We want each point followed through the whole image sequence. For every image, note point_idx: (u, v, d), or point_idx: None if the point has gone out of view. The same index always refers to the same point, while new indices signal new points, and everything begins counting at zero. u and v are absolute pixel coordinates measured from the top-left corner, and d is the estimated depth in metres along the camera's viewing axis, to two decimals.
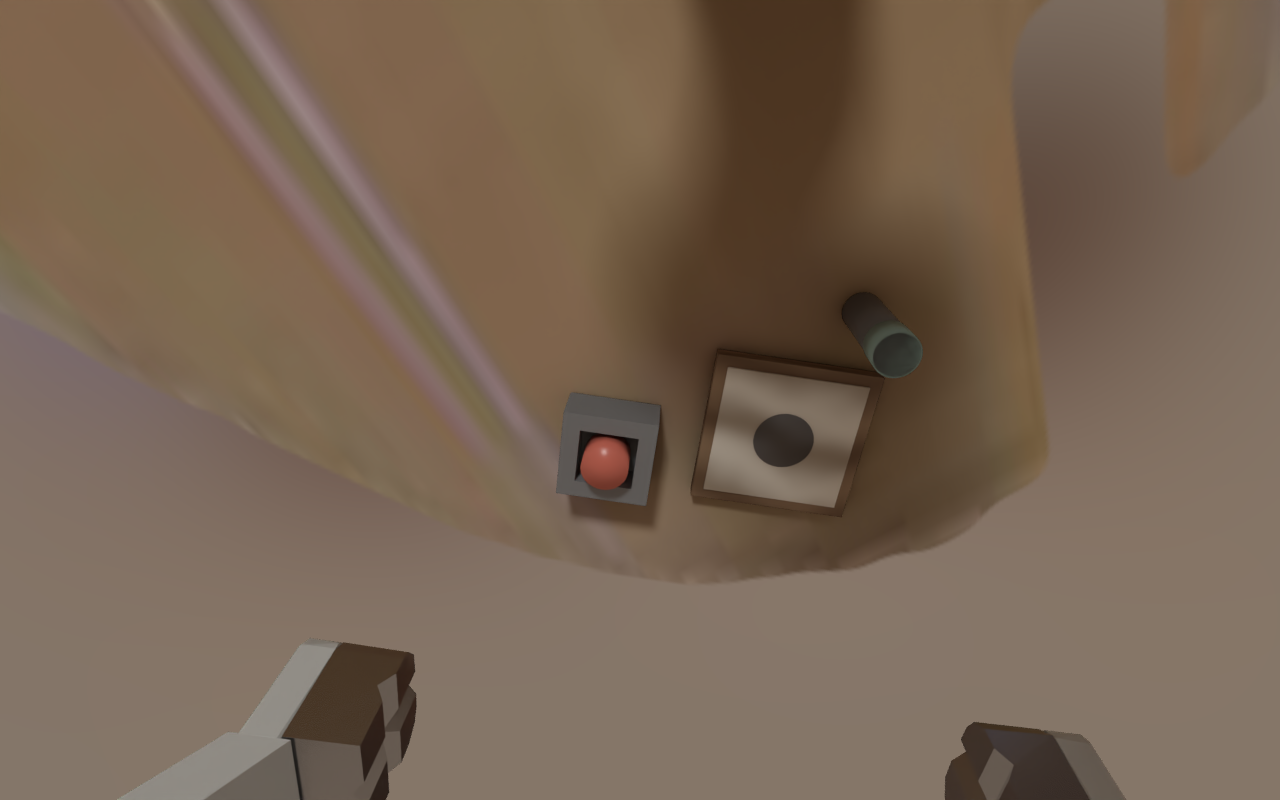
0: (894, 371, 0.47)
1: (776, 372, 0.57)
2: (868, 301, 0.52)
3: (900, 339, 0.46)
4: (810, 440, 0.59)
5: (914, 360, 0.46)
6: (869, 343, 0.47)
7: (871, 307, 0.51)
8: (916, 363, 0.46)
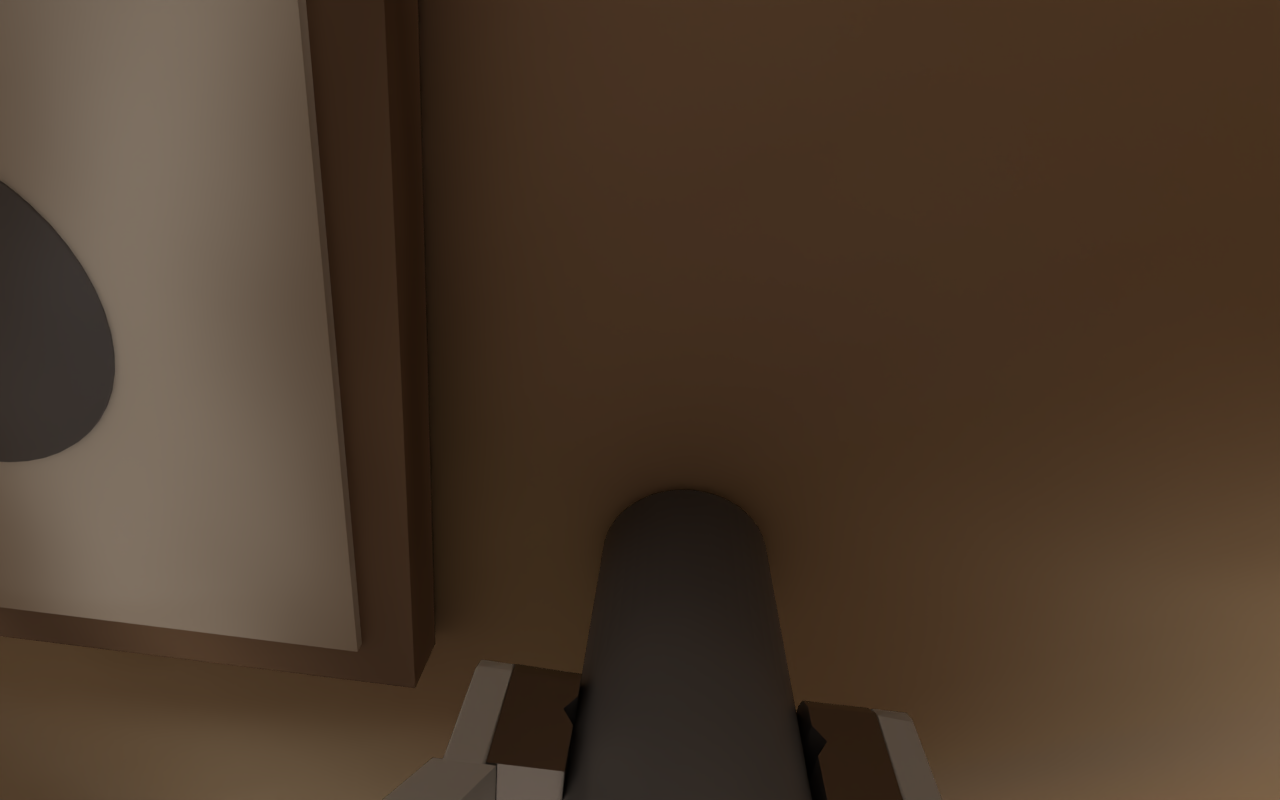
0: None
1: (333, 231, 0.10)
2: (783, 644, 0.11)
3: None
4: (10, 446, 0.11)
5: None
6: None
7: None
8: None
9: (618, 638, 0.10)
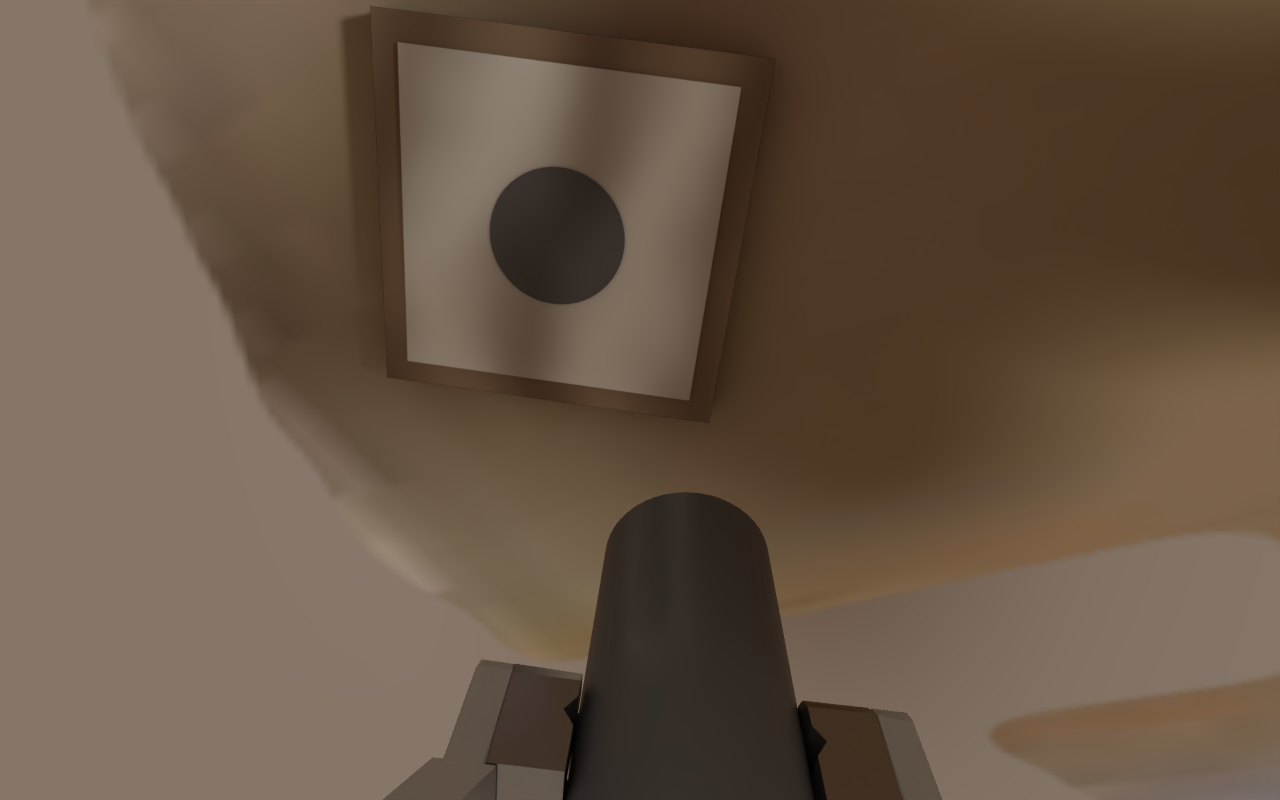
0: None
1: (724, 207, 0.25)
2: None
3: None
4: (563, 297, 0.27)
5: None
6: None
7: None
8: None
9: (621, 641, 0.10)
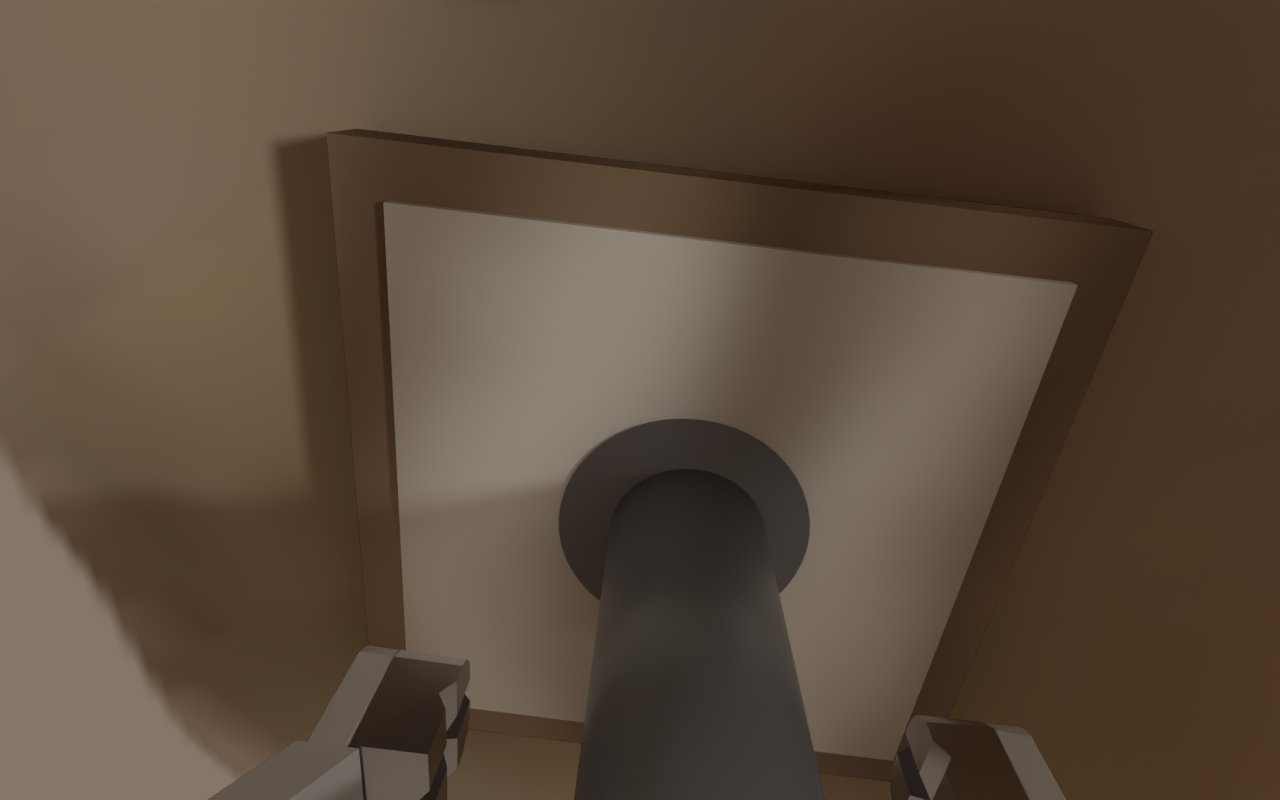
0: None
1: (1003, 483, 0.13)
2: (781, 607, 0.12)
3: None
4: None
5: None
6: None
7: (795, 669, 0.10)
8: None
9: (630, 600, 0.10)
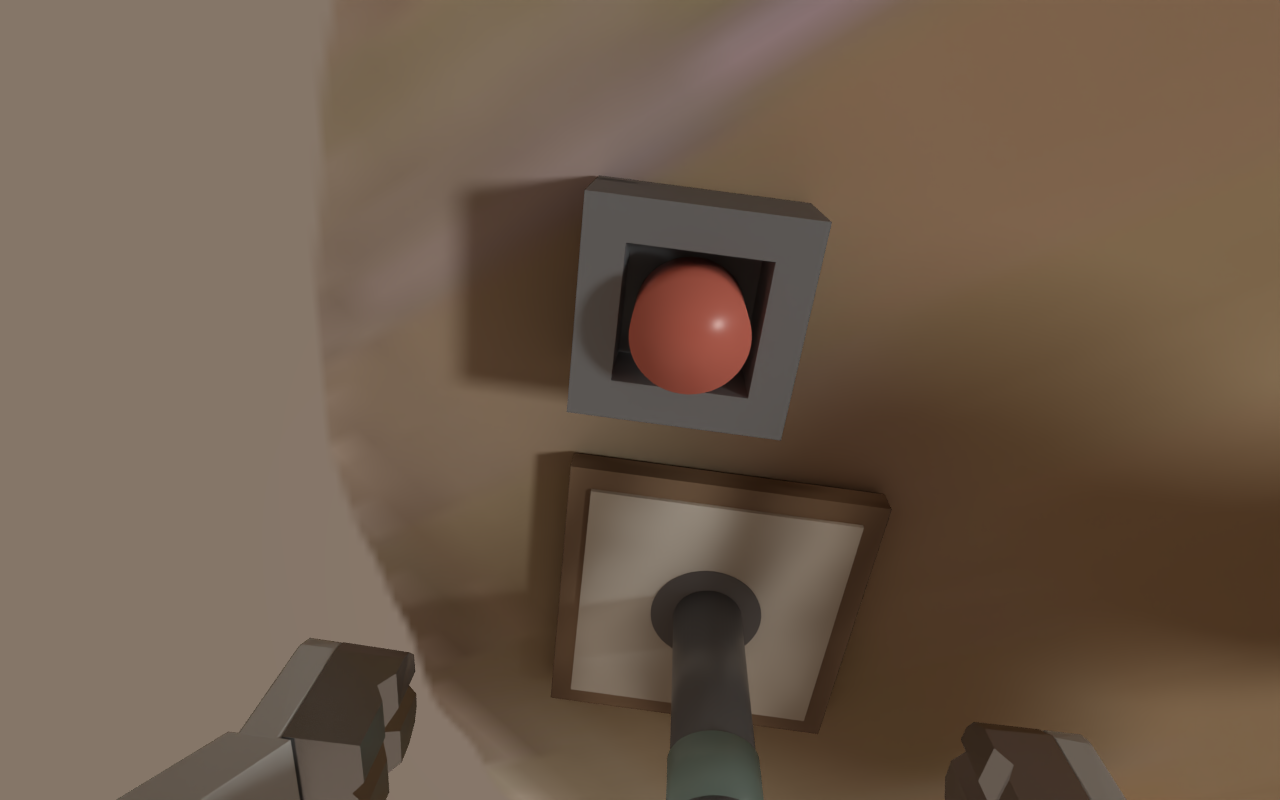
0: None
1: (843, 598, 0.31)
2: None
3: None
4: None
5: None
6: (728, 764, 0.23)
7: (747, 678, 0.28)
8: None
9: (687, 651, 0.28)
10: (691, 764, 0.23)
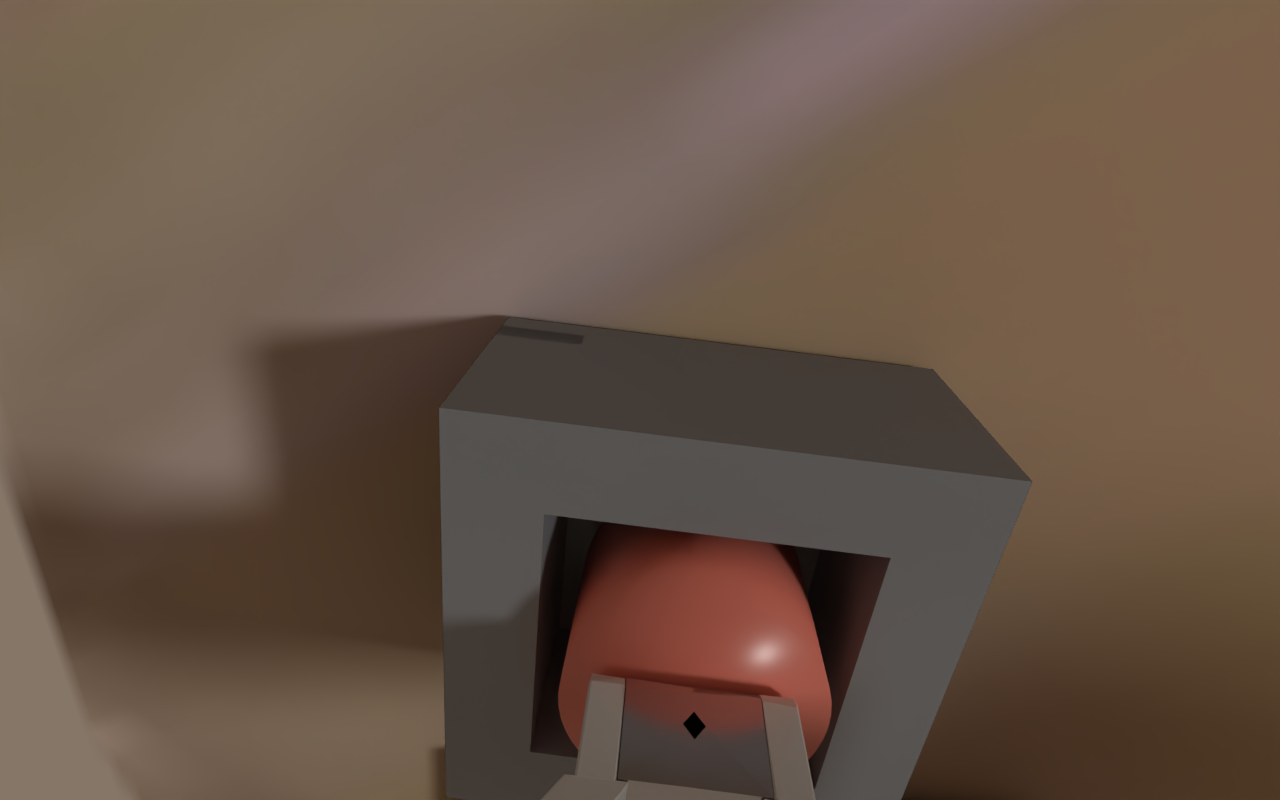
0: None
1: None
2: None
3: None
4: None
5: None
6: None
7: None
8: None
9: None
10: None
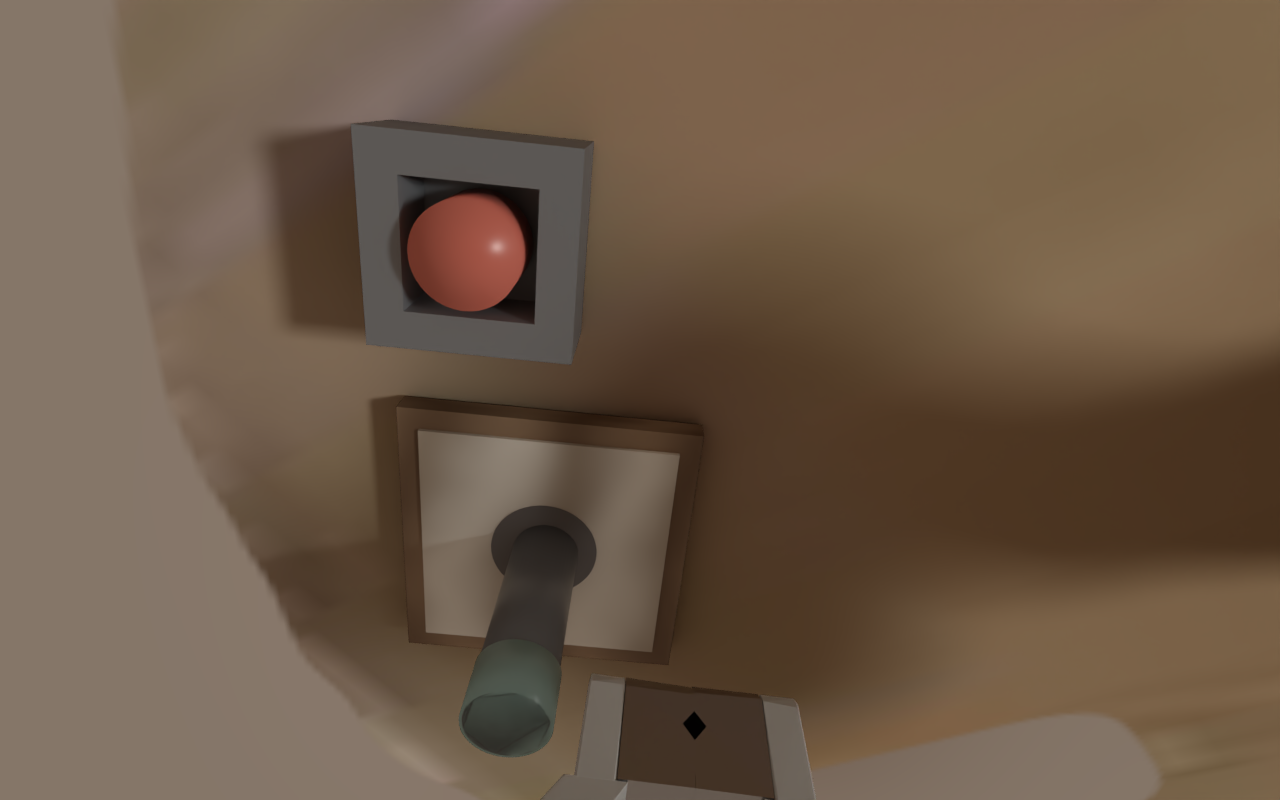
0: (472, 725, 0.24)
1: (672, 527, 0.33)
2: (571, 579, 0.31)
3: (537, 725, 0.24)
4: None
5: (499, 748, 0.25)
6: (518, 666, 0.25)
7: (566, 599, 0.30)
8: (494, 751, 0.25)
9: (510, 577, 0.30)
10: (485, 668, 0.25)
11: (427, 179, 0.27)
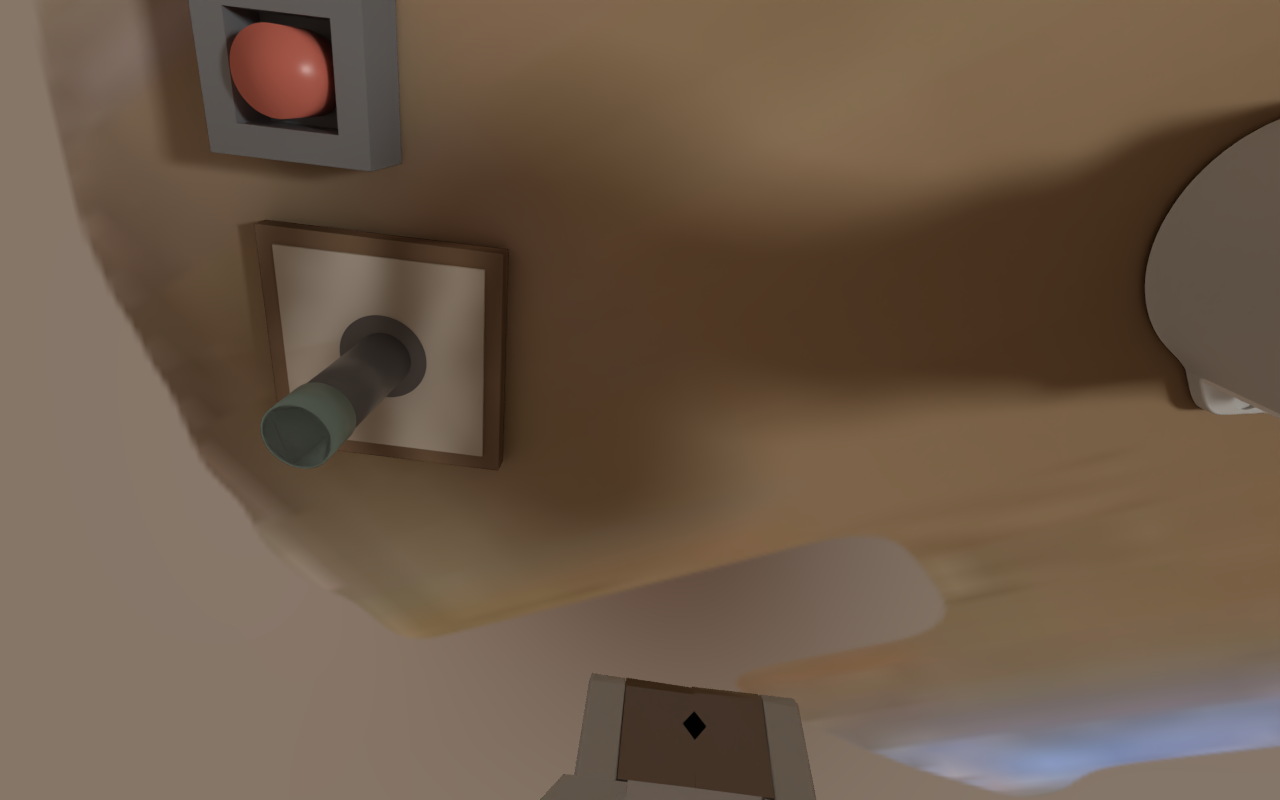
0: (271, 436, 0.31)
1: (486, 338, 0.40)
2: (392, 369, 0.38)
3: (320, 437, 0.31)
4: (391, 392, 0.41)
5: (295, 459, 0.32)
6: (309, 394, 0.32)
7: (380, 377, 0.37)
8: (291, 462, 0.32)
9: (337, 359, 0.37)
10: None
11: None
